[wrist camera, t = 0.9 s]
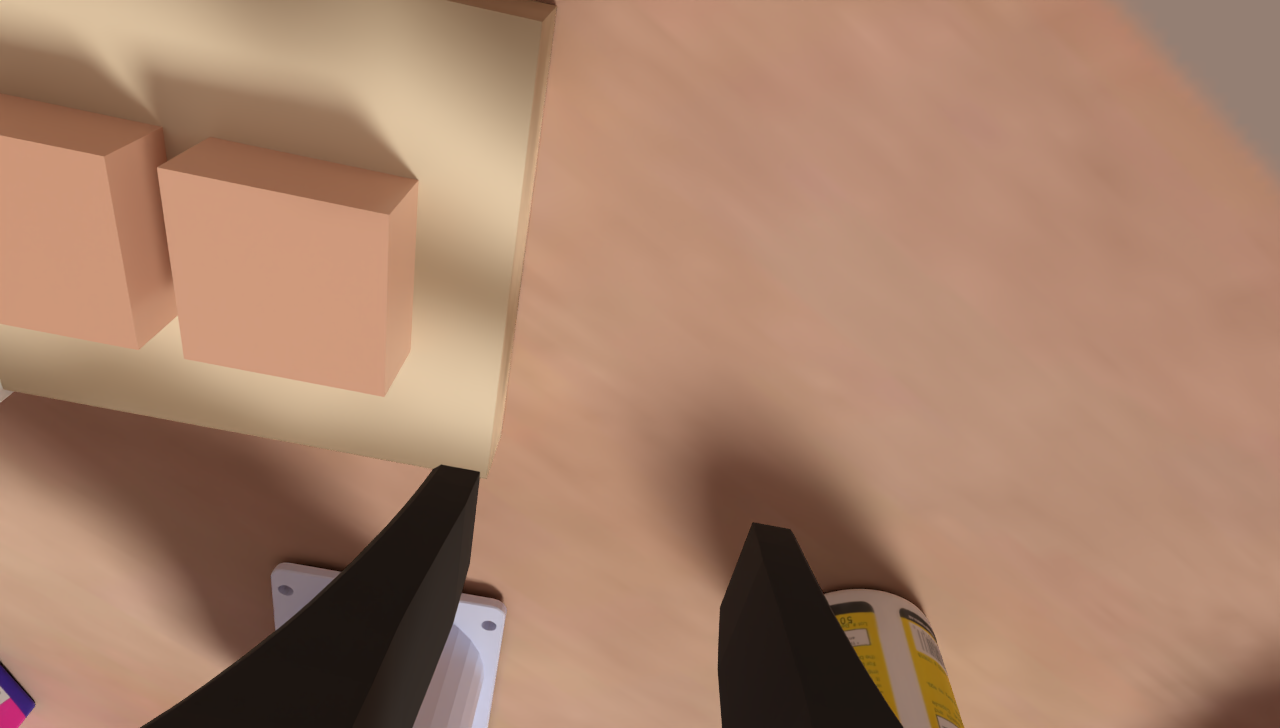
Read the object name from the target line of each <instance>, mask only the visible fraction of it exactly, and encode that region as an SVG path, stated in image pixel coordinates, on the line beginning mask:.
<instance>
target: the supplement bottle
mask: <svg viewBox="0 0 1280 728" xmlns="http://www.w3.org/2000/svg"><path fill="white" fill-rule="evenodd" d="M824 596H825V597H826V599H827V601H828V603H829V605H830V607H831V609H832V611H833V612H834V614H835V616H836V618H837V620H838V622H839V623H840V625H841V627H842V629H843V630H844V632H845V634H846V636H847V637H848V639H849V641H850V643H851V644H852V646H853V648H854V650H855V651H856V653H857V655H858V657H859V658H860V660H861V662H862V663H863V665H864V667H865V668H866V670H867V672H868V673H869V675H870V677H871V678H872V680H873V681H874V683H875V685H876V686H877V688H878V689H879V691H880V692H881V694H882V696H883V697H884V699H885V700H886V702H887V703H888V705H889V706H890V708H891V709H892V711H893V712H894V714H895V715H896V717H897V718H898V720H899V721H900V723H901V724H902V726H903V727H904V728H964V726H963V723H962V720H961V716H960V713H959V710H958V707H957V704H956V701H955V698H954V694H953V691H952V688H951V685H950V682H949V678H948V675H947V672H946V669H945V666H944V662H943V659H942V656H941V653H940V650H939V647H938V644H937V641H936V637H935V635H934V632H933V630H932V628H931V625H930V623H929V621H928V619H927V618H926V616H925V615H924V614H923V613H922V612H921V610H920V609H919V608H918V607H916V606H915V605H914V604H913V603H911V602H909V601H908V600H906V599H904V598H902V597H899V596H897V595H894V594H891V593H888V592H884V591H879V590H871V589H848V590H840V591H834V592H830V593H826V594H824Z"/></svg>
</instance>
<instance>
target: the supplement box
mask: <svg viewBox="0 0 1280 728" xmlns="http://www.w3.org/2000/svg"><path fill="white" fill-rule="evenodd" d="M34 707H35V703H34V701H33V700H32V699H31V698H30V697H29V696H28V695H27V694H26V692H25V691H24V690H23V689H22V688H21V687H20V686H19V685H18V684H17V682H16V681H15V680H14V679H13V678H12V677H11V676H10V675H9V674H8V672H7V671H6V670H5V669H4V668H3V667H2V666H1V664H0V728H18V727H19V726H20V725H21V723H22V722H23V721H24V720H25V718H26V717H27V716H28V715H29V713H30V712H31V711H32V710H33V708H34Z"/></svg>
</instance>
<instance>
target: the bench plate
mask: <svg viewBox="0 0 1280 728" xmlns="http://www.w3.org/2000/svg"><path fill="white" fill-rule="evenodd" d="M556 10H557V6H555V5H551V4H547V3H542V2H538V1H533V0H0V93H2V94H7V95H12V96H16V97H21V98H26V99H31V100H36V101H40V102H45V103H50V104H55V105H60V106H65V107H69V108H74V109H79V110H84V111H89V112H93V113H98V114H103V115H108V116H113V117H117V118H122V119H127V120H132V121H137V122H141V123H146V124H151V125H156V126H161V127H163V134H164V141H165V149H166V156H167V161H169V160H170V159H172V158H174V157H176V156H177V155H179V154H181V153H183V152H184V151H186V150H188V149H190V148H191V147H193V146H195V145H196V144H198V143H200V142H202V141H203V140H205V139H207V138H209V137H213V138H218V139H223V140H228V141H233V142H237V143H242V144H247V145H252V146H257V147H261V148H266V149H271V150H276V151H281V152H285V153H290V154H295V155H300V156H305V157H309V158H314V159H319V160H324V161H329V162H334V163H338V164H343V165H348V166H353V167H358V168H362V169H367V170H372V171H377V172H382V173H386V174H391V175H396V176H401V177H406V178H410V179H415V180H419V184H418V206H417V227H416V249H415V270H414V292H413V314H412V335H411V351H410V353H409V355H408V357H407V358H406V360H405V362H404V364H403V366H402V367H401V369H400V371H399V373H398V374H397V376H396V378H395V380H394V381H393V383H392V385H391V387H390V388H389V390H388V392H387V394H386V395H385V397H382V396H376V395H371V394H366V393H361V392H355V391H350V390H345V389H340V388H334V387H329V386H324V385H319V384H313V383H308V382H303V381H298V380H292V379H287V378H282V377H277V376H271V375H266V374H261V373H256V372H250V371H245V370H240V369H235V368H229V367H224V366H219V365H214V364H208V363H203V362H198V361H193V360H187V359H184V355H183V348H182V341H181V334H180V327H179V320H178V316H177V317H175V318H174V319H173V320H172V321H171V322H170V323H169V324H168V325H166V326H165V327H164V328H163V329H162V330H161V331H160V332H159V333H157V334H156V335H155V336H154V337H153V338H152V339H151V340H150V341H148V342H147V343H146V344H145V345H144V346H143V347H142V348H141V349H139V350H135V349H130V348H124V347H119V346H114V345H109V344H103V343H98V342H93V341H88V340H82V339H77V338H72V337H67V336H61V335H56V334H51V333H46V332H40V331H35V330H30V329H25V328H19V327H14V326H9V325H4V324H0V381H1V384H2V387H3V389H4V390H9V391H15V392H20V393H25V394H31V395H36V396H42V397H47V398H52V399H58V400H63V401H68V402H74V403H79V404H85V405H90V406H95V407H101V408H106V409H112V410H117V411H122V412H128V413H133V414H139V415H144V416H149V417H155V418H160V419H166V420H171V421H176V422H182V423H187V424H192V425H198V426H203V427H209V428H214V429H219V430H225V431H230V432H236V433H241V434H246V435H252V436H257V437H263V438H268V439H273V440H279V441H284V442H290V443H295V444H300V445H306V446H311V447H316V448H322V449H327V450H333V451H338V452H343V453H349V454H354V455H360V456H365V457H370V458H376V459H381V460H387V461H392V462H397V463H403V464H408V465H414V466H419V467H424V468H430V469H434V468H436V467H437V466H439V465H441V464H442V465H447V466H452V467H458V468H463V469H469V470H474V471H479V472H480V478H484V479H487V476H488V473H489V470H490V467H491V464H492V461H493V458H494V455H495V452H496V449H497V446H498V443H499V440H500V437H501V432H502V425H503V417H504V409H505V402H506V394H507V386H508V379H509V371H510V363H511V356H512V348H513V340H514V333H515V325H516V317H517V310H518V302H519V294H520V287H521V279H522V271H523V264H524V256H525V248H526V240H527V233H528V225H529V217H530V210H531V202H532V194H533V187H534V179H535V171H536V164H537V156H538V148H539V141H540V133H541V125H542V118H543V110H544V102H545V95H546V87H547V79H548V71H549V64H550V56H551V48H552V41H553V33H554V25H555V18H556Z"/></svg>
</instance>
